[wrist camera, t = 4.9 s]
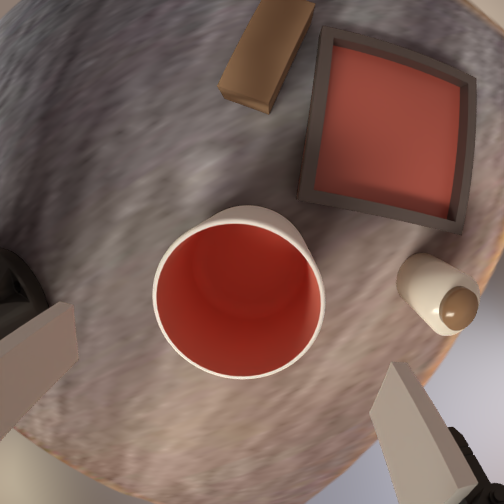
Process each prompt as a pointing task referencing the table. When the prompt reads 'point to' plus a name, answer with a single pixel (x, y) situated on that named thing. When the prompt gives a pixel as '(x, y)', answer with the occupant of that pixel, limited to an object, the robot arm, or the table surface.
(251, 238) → the cup
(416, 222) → the tray
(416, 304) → the ceramic jar
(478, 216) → the table surface
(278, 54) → the box
